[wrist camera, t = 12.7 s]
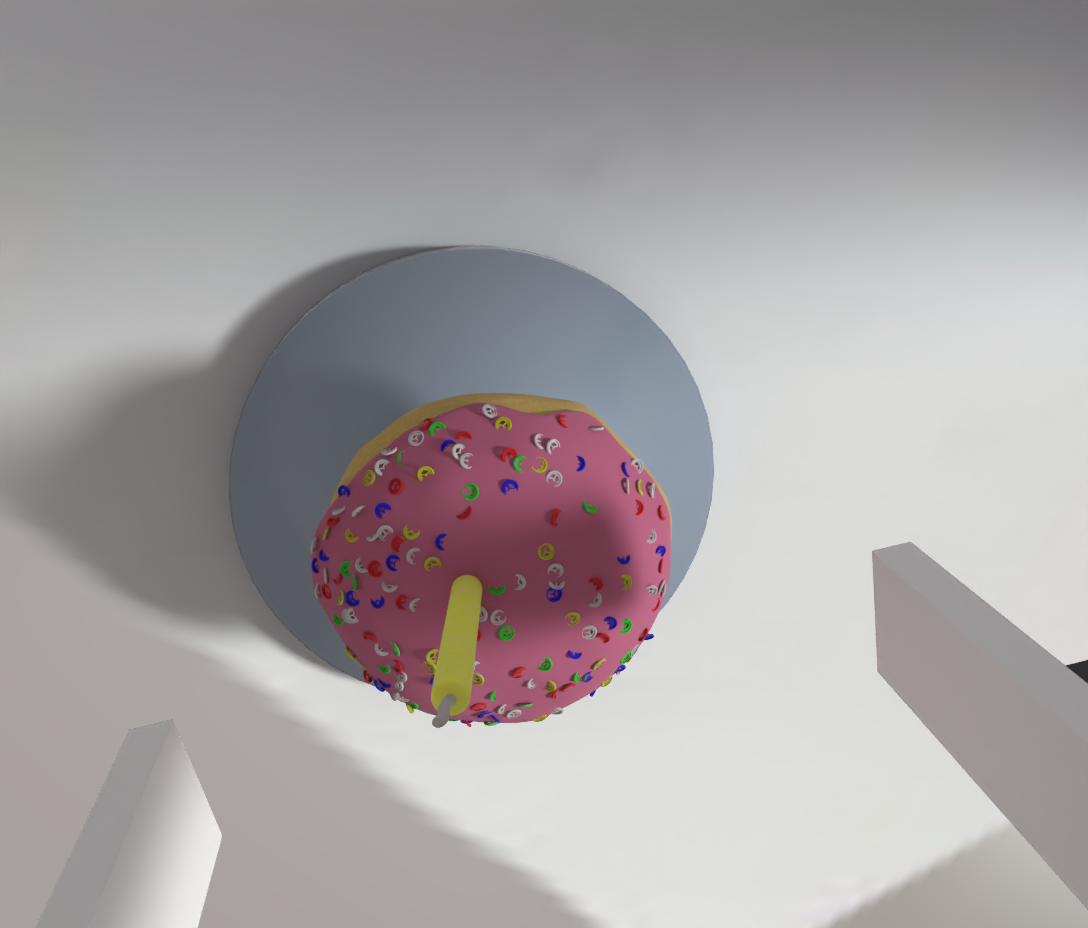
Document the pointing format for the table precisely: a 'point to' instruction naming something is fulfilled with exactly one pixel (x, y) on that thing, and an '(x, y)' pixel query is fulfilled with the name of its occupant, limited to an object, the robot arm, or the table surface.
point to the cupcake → (493, 557)
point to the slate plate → (441, 372)
